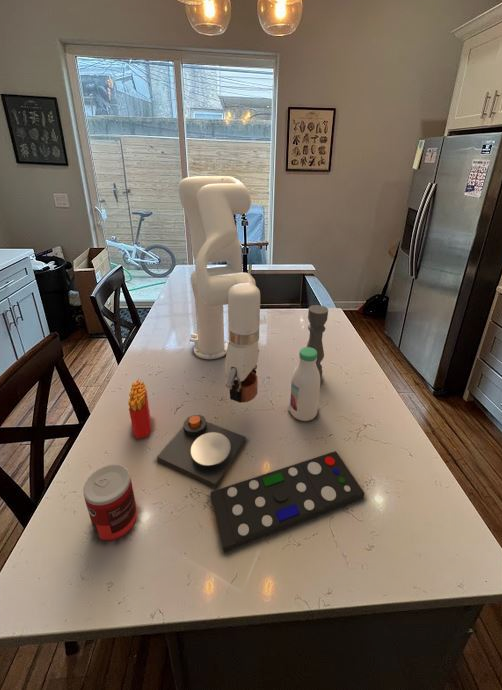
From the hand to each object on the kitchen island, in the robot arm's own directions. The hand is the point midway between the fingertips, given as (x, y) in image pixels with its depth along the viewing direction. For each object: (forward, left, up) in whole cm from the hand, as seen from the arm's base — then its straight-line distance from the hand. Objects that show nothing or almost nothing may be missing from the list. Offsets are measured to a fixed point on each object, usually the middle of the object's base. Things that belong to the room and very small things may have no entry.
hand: (243, 390), depth 87 cm
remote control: (+19, -17, -9) cm, 27 cm away
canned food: (-10, -35, -9) cm, 38 cm away
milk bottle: (+14, +9, -9) cm, 19 cm away
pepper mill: (+12, +24, -9) cm, 28 cm away
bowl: (0, 0, -1) cm, 1 cm away
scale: (-4, -14, -9) cm, 17 cm away
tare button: (-9, -10, -6) cm, 15 cm away
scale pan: (-1, -15, -6) cm, 16 cm away
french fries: (-22, -15, -9) cm, 28 cm away
